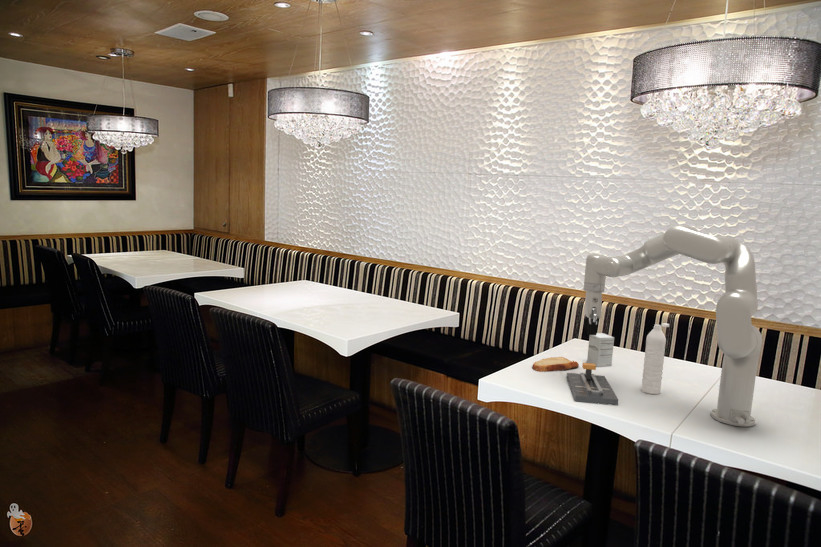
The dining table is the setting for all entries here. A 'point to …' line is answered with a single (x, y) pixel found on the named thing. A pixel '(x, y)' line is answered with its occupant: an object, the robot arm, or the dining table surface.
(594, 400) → the console
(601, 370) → the dining table surface
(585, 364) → the fader tab
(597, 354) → the supplement box
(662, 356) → the water bottle
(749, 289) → the robot arm
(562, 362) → the bread slice
